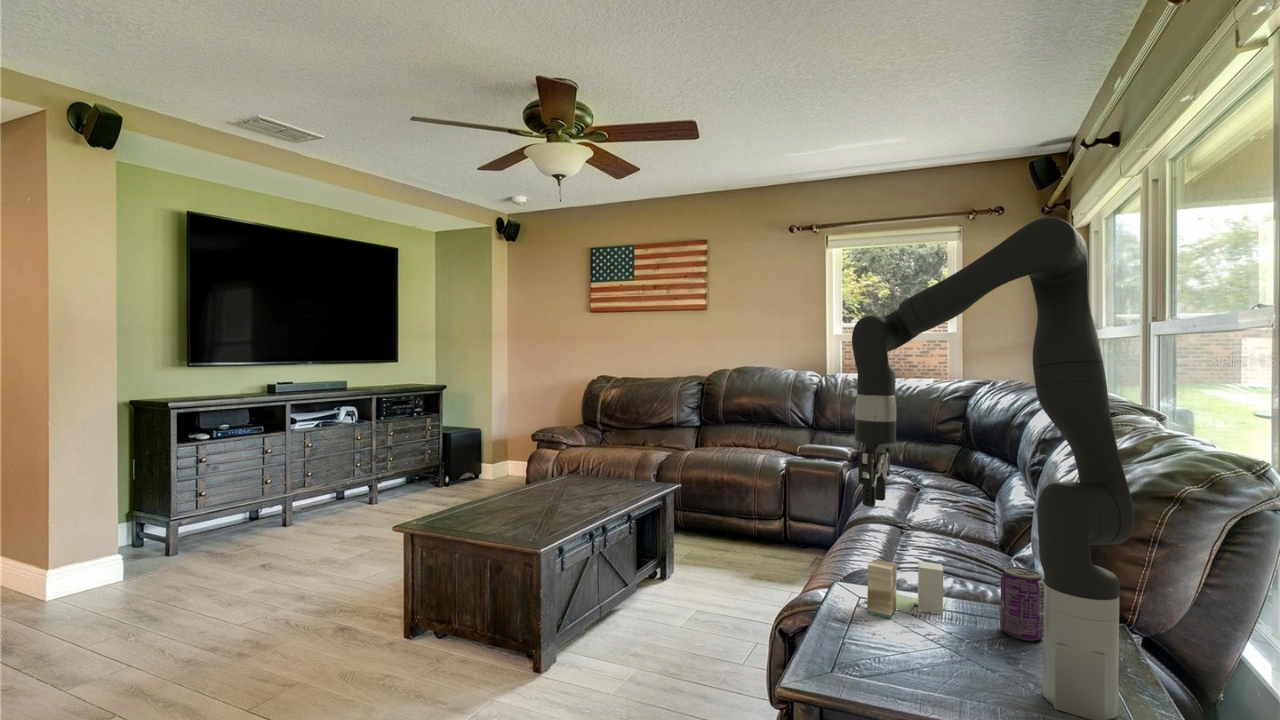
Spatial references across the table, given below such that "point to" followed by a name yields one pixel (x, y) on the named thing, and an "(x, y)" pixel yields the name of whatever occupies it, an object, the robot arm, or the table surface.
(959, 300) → the robot arm
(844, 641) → the table surface
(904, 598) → the mat
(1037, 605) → the beverage can
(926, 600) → the grey block
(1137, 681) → the table surface
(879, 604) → the birch block
